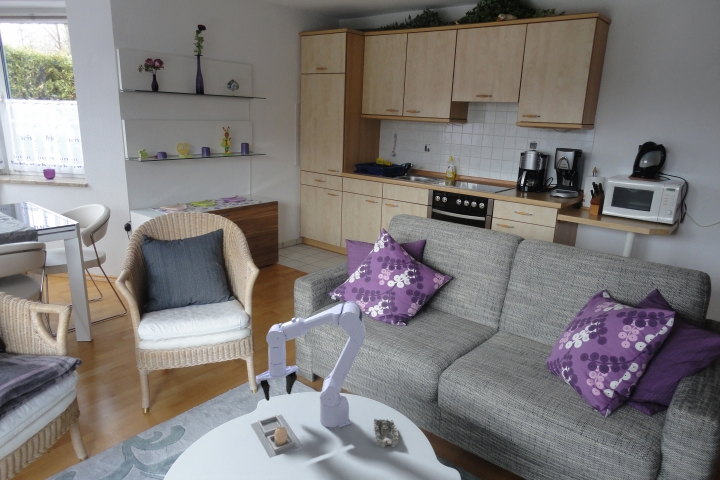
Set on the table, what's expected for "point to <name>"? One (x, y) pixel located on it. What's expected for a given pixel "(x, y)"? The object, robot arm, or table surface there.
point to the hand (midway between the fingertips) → (277, 395)
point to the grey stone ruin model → (385, 432)
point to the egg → (280, 436)
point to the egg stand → (267, 435)
